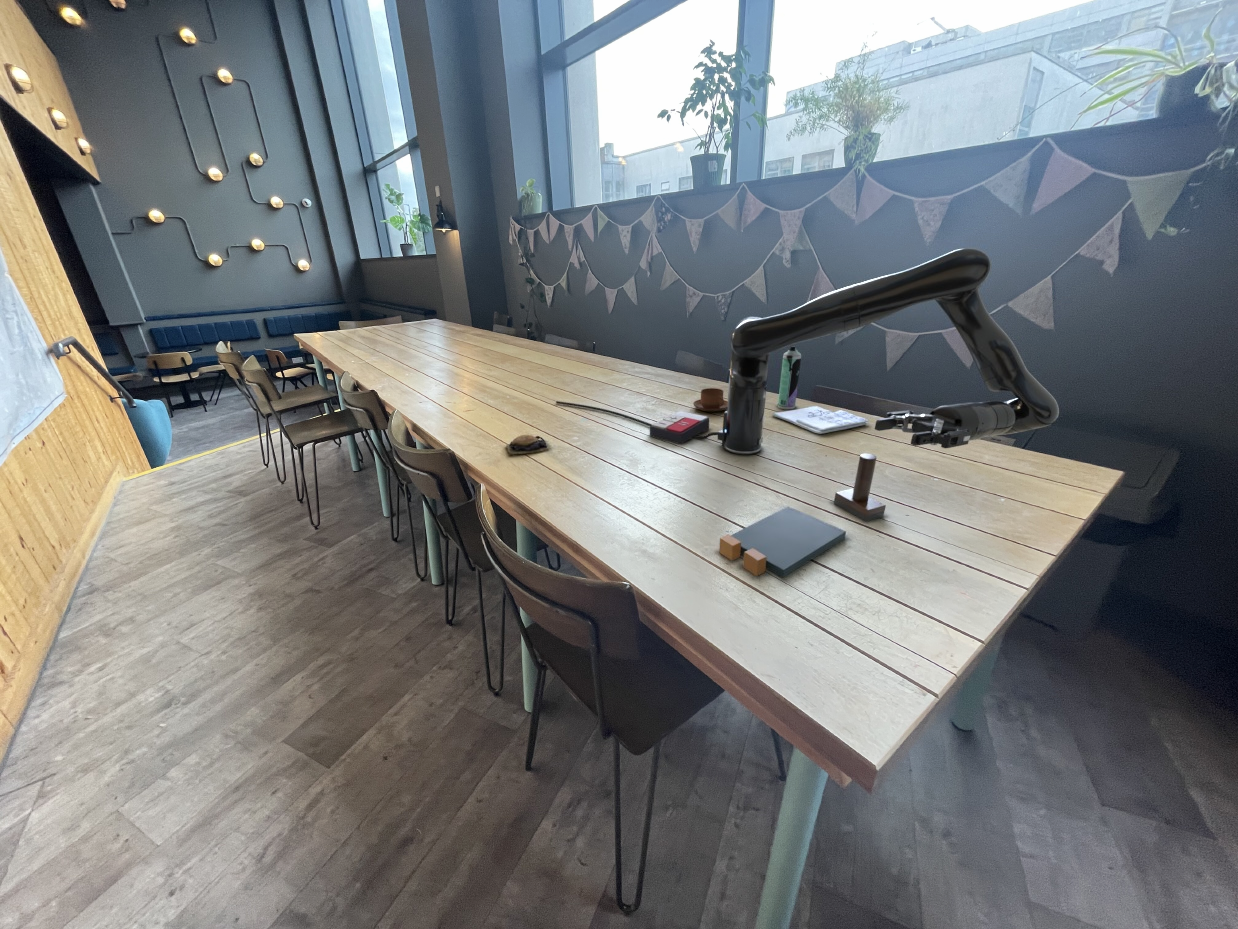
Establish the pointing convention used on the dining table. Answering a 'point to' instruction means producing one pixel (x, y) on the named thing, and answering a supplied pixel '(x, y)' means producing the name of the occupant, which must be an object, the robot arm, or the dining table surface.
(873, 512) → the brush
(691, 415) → the red-topped box
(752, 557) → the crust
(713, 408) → the cup and saucer
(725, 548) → the brown wooden block
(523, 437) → the brown domed lump
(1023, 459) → the dining table surface
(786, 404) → the spray can
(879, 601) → the dining table surface
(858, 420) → the folded bicycle print cloth
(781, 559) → the tray
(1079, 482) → the dining table surface
